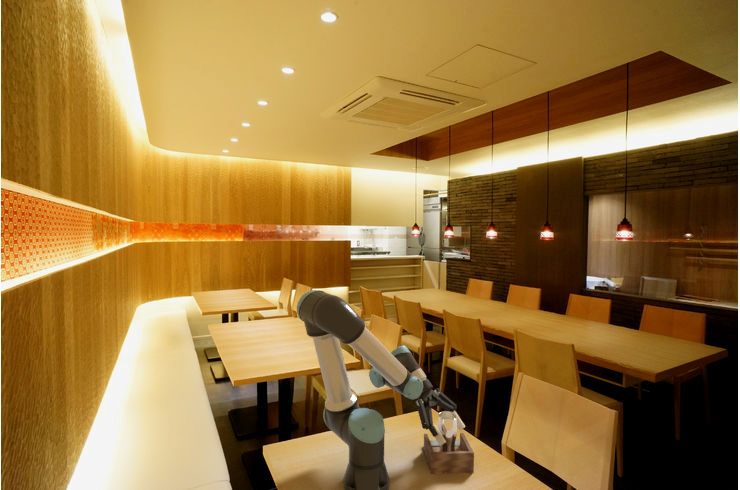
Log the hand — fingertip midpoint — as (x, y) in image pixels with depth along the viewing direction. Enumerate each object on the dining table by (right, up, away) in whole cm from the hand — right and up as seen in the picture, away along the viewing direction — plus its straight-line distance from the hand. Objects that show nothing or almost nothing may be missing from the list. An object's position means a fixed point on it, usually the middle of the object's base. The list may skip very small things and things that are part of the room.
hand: (453, 436), depth 142 cm
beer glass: (-2, -8, +2) cm, 9 cm away
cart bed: (-2, -10, +4) cm, 11 cm away
